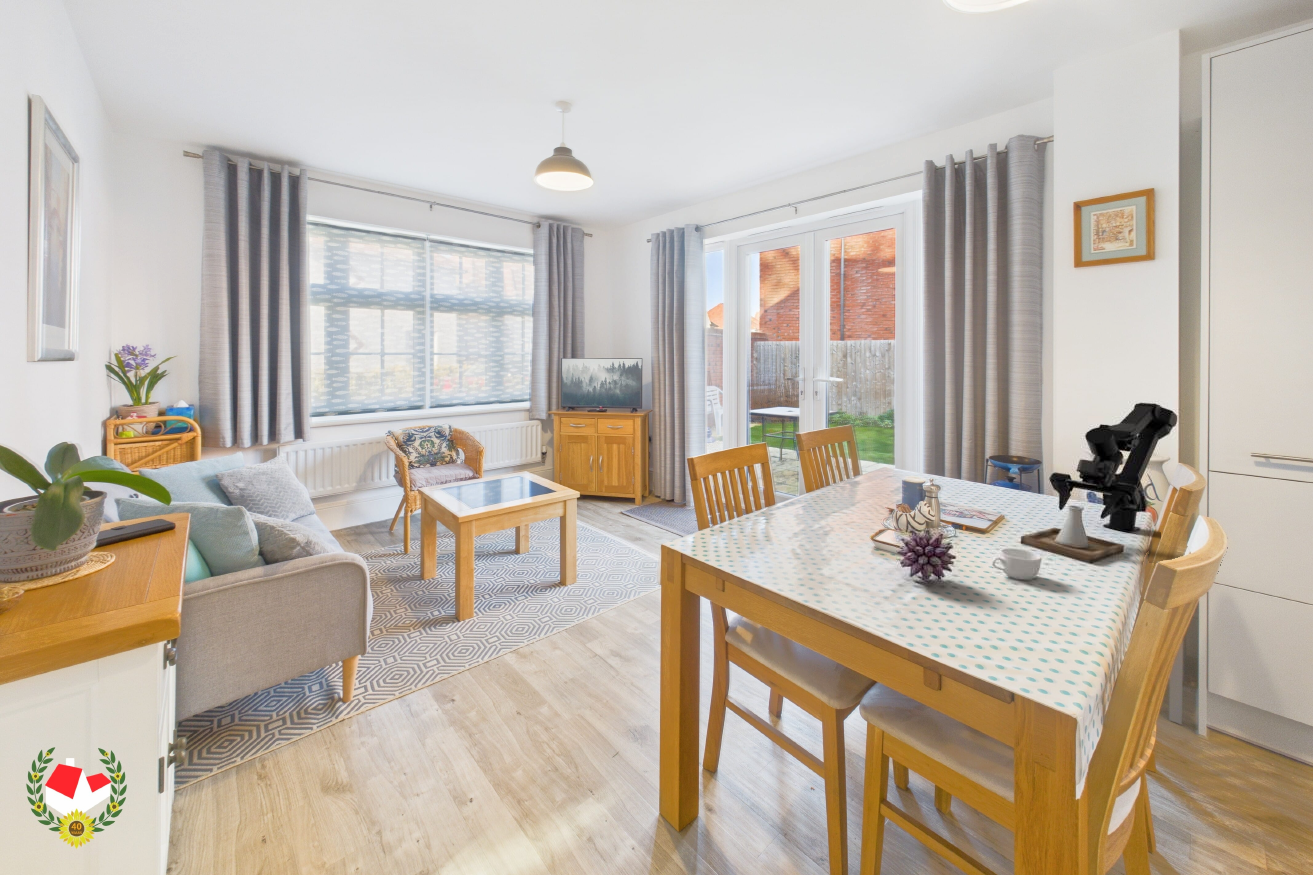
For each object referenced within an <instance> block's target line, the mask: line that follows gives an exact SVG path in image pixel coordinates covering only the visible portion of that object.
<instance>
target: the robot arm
mask: <svg viewBox="0 0 1313 875" xmlns="http://www.w3.org/2000/svg"><path fill="white" fill-rule="evenodd" d="M1177 422H1178V415H1177V414H1176V413H1175V412H1174V411H1173V410H1171V409H1168V408H1165V407H1163V406H1161V405H1160V404H1157V403H1150V402H1149V403H1148V402H1139V403H1135V404H1134V407H1133V409H1132V410H1131V411H1130V412H1129V413H1128V414H1127V415H1126V416H1125V417H1124V418H1123V419H1122V420H1121V421H1120V422H1119V423H1117V424H1112V425H1110V424H1100V425H1099V426H1097V427H1095V428H1092V429H1090V430H1088V431H1086V433H1085V436H1084V437H1085V441H1086V443H1087V445H1088V447H1089V451H1090V452H1091V454H1092V455H1094V456H1093V459H1092V460H1089V459H1088V460H1087V459H1079V461H1078V464H1077V468H1076V470H1075V471H1076V472H1077V473H1079V475H1078V476H1079V479H1081V481H1080V480H1075V479H1074V480H1073V479H1072V477H1071V475H1070V474H1069V473H1062V472H1057V471H1055V472H1053V473H1051V474H1050V477H1049V478H1048V479H1049V482H1050V484H1051V486H1052V488H1053V490H1054V491H1056V492H1057V493H1058V509H1059V510H1060V511H1062V510H1063V509H1064V508H1065V507H1066V504H1068V501H1069V500H1070V498H1071V496H1072V494H1071V492H1073V490H1074V489H1080V490H1085V491H1090V492H1095V493H1100V494H1102V505H1103V506H1104V508H1103V509H1102V511H1101V514H1100V519H1102V520H1104V519H1105V518H1107V517H1109V520H1108V521H1109V522H1108V523H1105V524H1102V525H1103V526H1102V527H1104V528H1108V529H1111V530H1112V529H1113V530H1117V531H1121V532H1126V533H1133V532H1136V531H1140V530H1141V527H1139V526H1136V523H1137V514H1138V513H1141V512H1143V513H1145V512H1147V508H1148V500H1147V497H1146V494H1145V488H1144V487H1143V486H1144V485H1143V484H1142V482H1141V481H1142V478H1143V476H1144V473H1145V472H1146V469H1147V467H1148V465H1149V463H1150V460H1151V458H1152V455H1153V453H1154V451H1155V450H1156V447H1157V445H1158V442H1159V440H1161V439H1163V438H1165V437H1166V436H1169V435H1170V434H1171V431H1172V430H1173V428H1175V427H1176V425H1177ZM1123 452H1129V454H1128V456H1127V458H1126V461H1125V463H1124V460H1123V459H1124V454H1123ZM1123 464H1124V466H1122V465H1123ZM1120 466H1122V470H1121V472H1119V473H1117V472H1118V470H1119V469H1120V468H1119V467H1120Z"/></svg>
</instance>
